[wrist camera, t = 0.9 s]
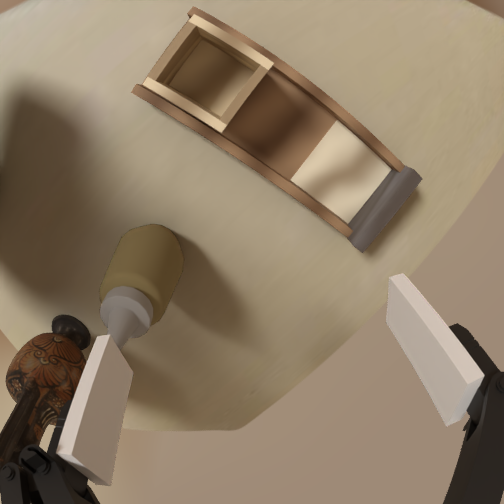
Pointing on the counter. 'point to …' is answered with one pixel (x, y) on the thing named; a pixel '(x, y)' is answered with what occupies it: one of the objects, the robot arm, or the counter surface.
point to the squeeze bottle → (140, 281)
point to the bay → (307, 148)
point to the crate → (207, 72)
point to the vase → (42, 384)
